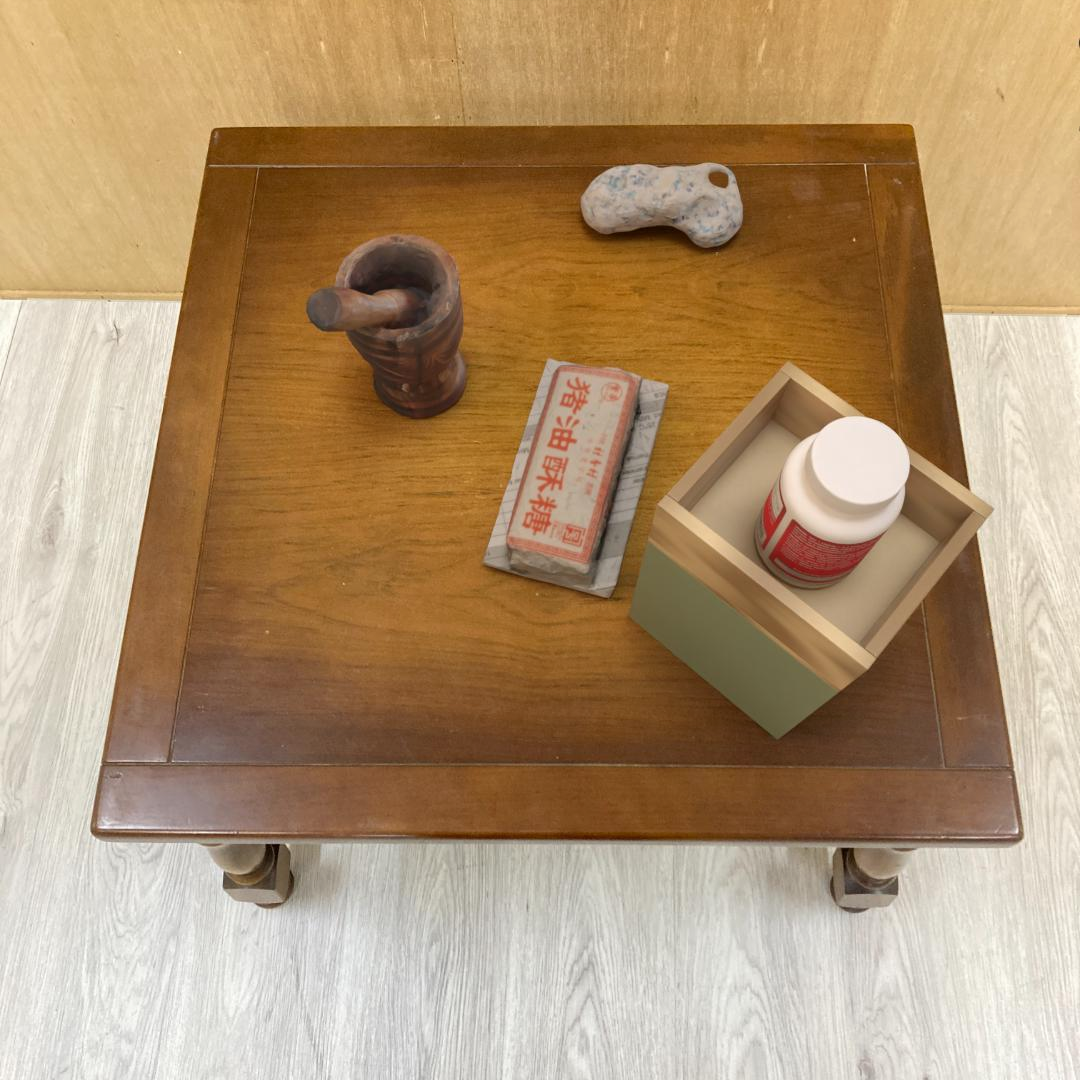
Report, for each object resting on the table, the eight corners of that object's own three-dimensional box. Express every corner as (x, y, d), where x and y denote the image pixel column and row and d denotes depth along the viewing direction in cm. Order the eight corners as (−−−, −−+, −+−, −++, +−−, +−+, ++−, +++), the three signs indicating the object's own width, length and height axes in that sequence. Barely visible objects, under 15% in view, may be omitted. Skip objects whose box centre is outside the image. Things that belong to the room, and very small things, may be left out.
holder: (955, 544, 59) (995, 508, 54) (838, 693, 56) (868, 669, 51) (767, 406, 62) (787, 360, 57) (647, 540, 59) (656, 504, 54)
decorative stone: (584, 262, 85) (586, 223, 80) (577, 196, 87) (579, 155, 83) (742, 252, 85) (754, 212, 81) (731, 187, 88) (742, 144, 83)
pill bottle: (880, 564, 58) (952, 488, 48) (786, 608, 57) (838, 540, 47) (825, 474, 60) (882, 382, 50) (733, 515, 59) (772, 430, 49)
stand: (873, 619, 74) (955, 544, 59) (777, 740, 71) (838, 693, 56) (725, 505, 77) (767, 406, 62) (627, 616, 74) (647, 540, 59)
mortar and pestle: (457, 469, 79) (428, 329, 60) (347, 455, 79) (284, 313, 60) (480, 339, 83) (460, 170, 64) (376, 327, 83) (325, 156, 64)
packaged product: (616, 583, 70) (478, 546, 71) (612, 603, 75) (482, 568, 76) (675, 361, 76) (547, 331, 77) (668, 393, 81) (547, 363, 82)
